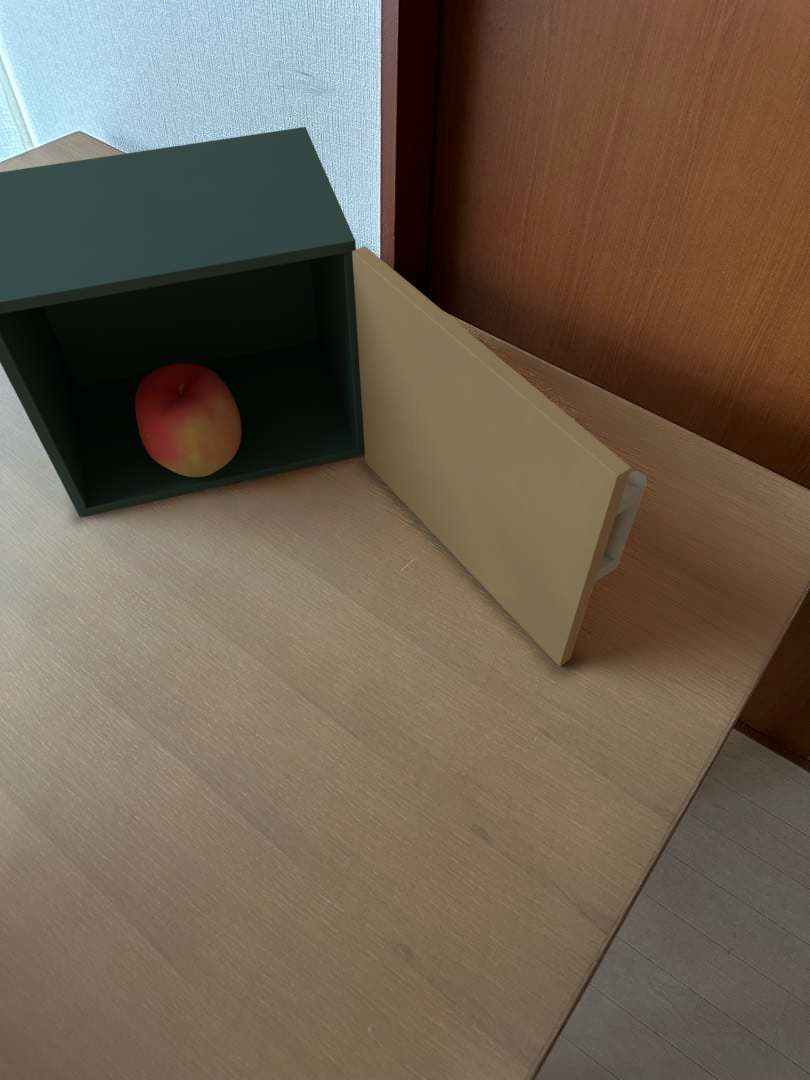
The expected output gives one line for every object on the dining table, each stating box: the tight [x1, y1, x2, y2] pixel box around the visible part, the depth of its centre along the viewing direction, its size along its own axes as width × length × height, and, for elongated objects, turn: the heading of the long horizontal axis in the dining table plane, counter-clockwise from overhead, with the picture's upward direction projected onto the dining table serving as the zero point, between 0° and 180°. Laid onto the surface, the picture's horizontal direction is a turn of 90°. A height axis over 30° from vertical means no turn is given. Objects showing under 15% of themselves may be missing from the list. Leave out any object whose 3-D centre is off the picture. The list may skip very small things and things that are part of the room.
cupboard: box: [0, 126, 365, 518], centre depth 76 cm, size 18×28×24 cm, turn 106°
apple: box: [135, 363, 241, 477], centre depth 77 cm, size 10×10×10 cm
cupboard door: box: [352, 245, 648, 667], centre depth 67 cm, size 7×28×24 cm, turn 36°
